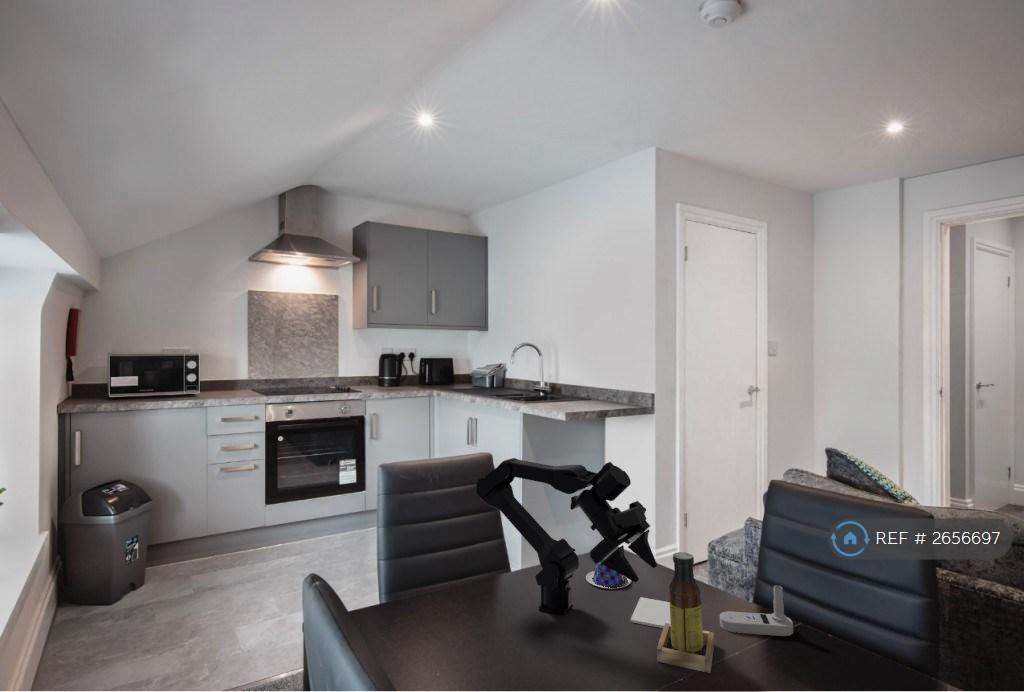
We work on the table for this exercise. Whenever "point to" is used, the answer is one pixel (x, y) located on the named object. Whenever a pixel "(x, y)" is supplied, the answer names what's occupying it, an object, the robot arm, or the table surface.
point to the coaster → (651, 613)
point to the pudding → (605, 577)
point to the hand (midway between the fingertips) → (646, 573)
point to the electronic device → (760, 620)
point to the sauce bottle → (685, 607)
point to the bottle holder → (683, 657)
